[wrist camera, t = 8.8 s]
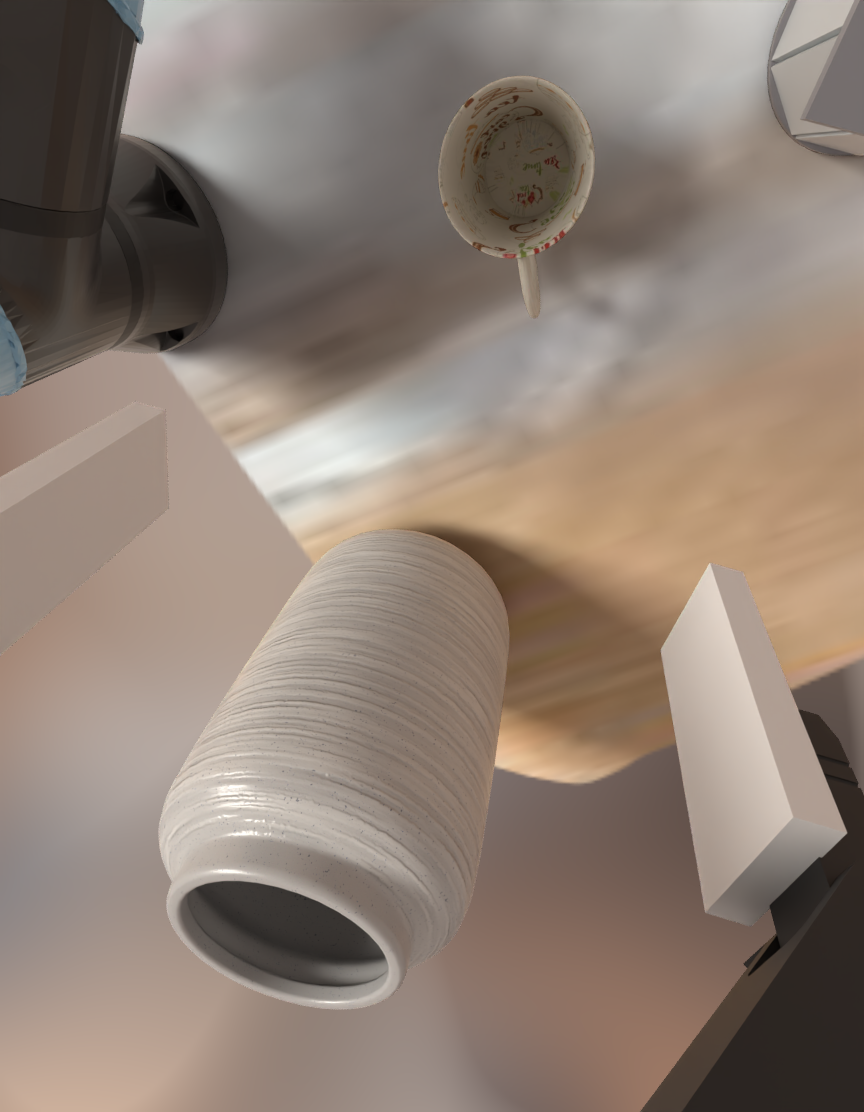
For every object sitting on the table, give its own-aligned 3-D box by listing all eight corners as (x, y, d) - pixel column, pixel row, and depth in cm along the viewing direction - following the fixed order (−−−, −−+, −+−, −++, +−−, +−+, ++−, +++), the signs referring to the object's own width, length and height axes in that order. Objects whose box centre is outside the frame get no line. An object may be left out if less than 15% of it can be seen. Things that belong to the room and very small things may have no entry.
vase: (317, 485, 58) (75, 790, 30) (535, 527, 56) (491, 896, 28) (315, 650, 69) (138, 983, 41) (498, 690, 67) (440, 1069, 39)
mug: (584, 73, 39) (585, 51, 30) (604, 289, 45) (609, 319, 36) (453, 113, 41) (421, 103, 33) (489, 313, 47) (469, 346, 39)
